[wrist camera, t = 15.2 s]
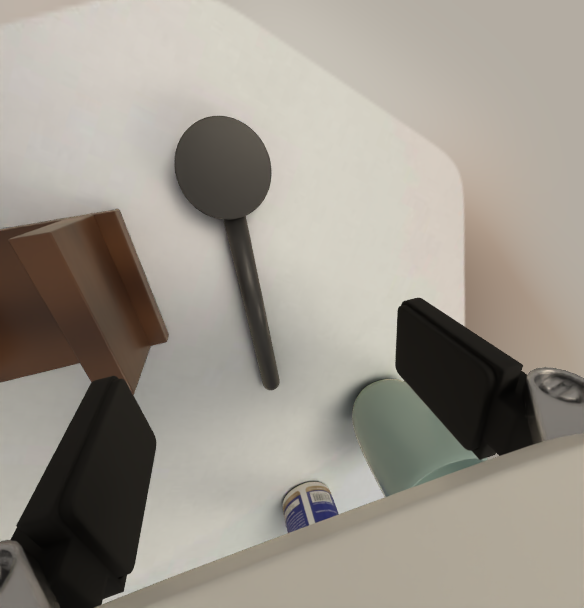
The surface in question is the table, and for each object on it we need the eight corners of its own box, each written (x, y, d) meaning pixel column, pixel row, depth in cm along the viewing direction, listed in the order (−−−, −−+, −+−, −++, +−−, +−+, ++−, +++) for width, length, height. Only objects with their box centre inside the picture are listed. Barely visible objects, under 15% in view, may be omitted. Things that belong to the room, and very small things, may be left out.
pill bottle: (290, 519, 35) (316, 637, 26) (274, 494, 32) (297, 617, 23) (334, 498, 35) (375, 608, 26) (322, 472, 32) (362, 584, 24)
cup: (405, 418, 32) (478, 513, 23) (338, 433, 30) (390, 541, 22) (416, 360, 29) (507, 445, 20) (342, 373, 27) (405, 473, 18)
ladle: (241, 390, 25) (243, 407, 23) (165, 127, 16) (160, 123, 14) (299, 374, 26) (305, 389, 24) (257, 115, 17) (262, 109, 15)
